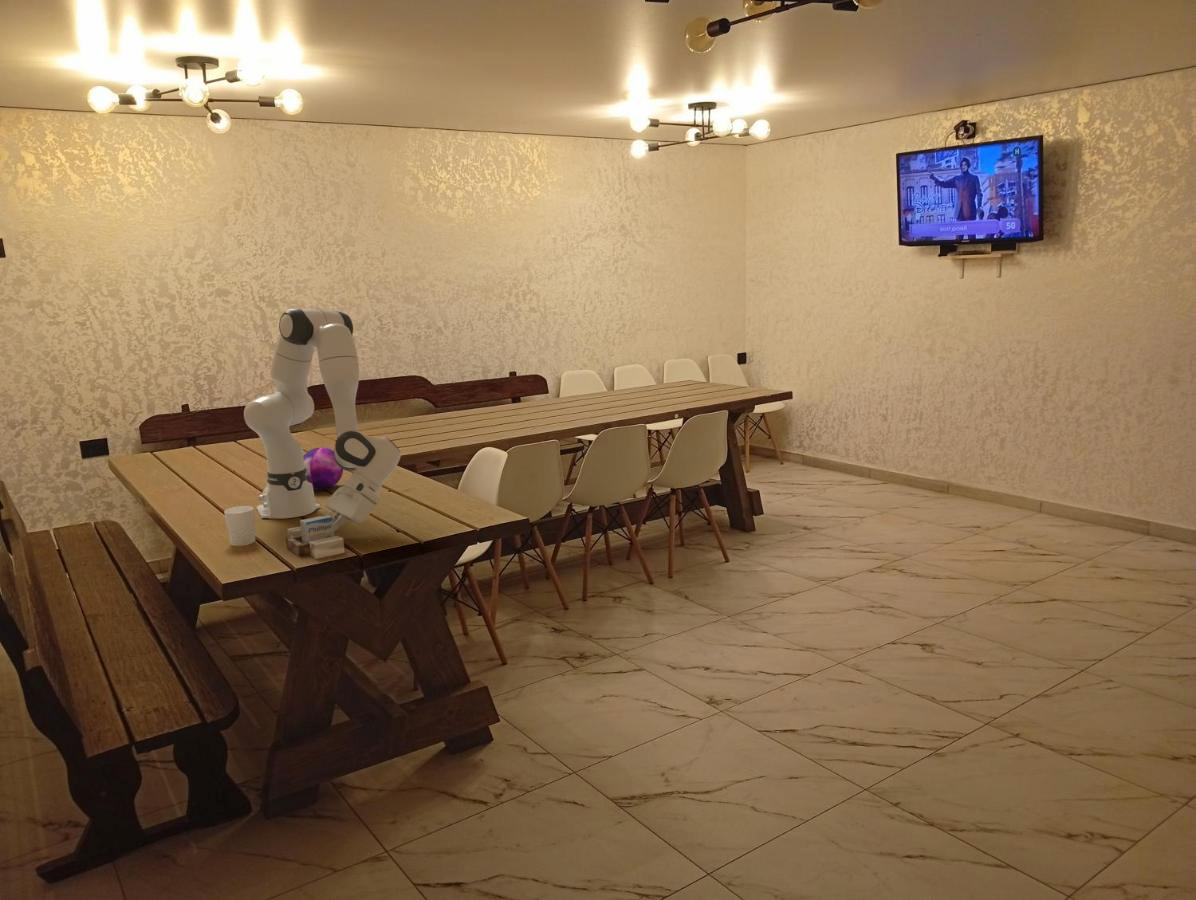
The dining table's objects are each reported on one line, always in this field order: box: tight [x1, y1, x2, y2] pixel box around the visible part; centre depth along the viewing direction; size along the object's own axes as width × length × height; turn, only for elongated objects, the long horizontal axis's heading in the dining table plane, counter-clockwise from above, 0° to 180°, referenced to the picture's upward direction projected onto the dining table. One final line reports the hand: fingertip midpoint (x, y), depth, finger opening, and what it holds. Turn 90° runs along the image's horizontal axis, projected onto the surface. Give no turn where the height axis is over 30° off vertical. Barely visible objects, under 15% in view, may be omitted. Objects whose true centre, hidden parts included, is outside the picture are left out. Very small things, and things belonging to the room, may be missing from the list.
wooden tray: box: [285, 526, 345, 560], centre depth 252 cm, size 21×12×4 cm, turn 38°
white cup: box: [224, 505, 256, 547], centre depth 259 cm, size 8×8×10 cm
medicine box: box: [299, 514, 335, 544], centre depth 252 cm, size 8×4×9 cm, turn 128°
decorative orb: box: [303, 447, 344, 491], centre depth 320 cm, size 15×15×15 cm
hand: (331, 528), depth 255 cm, fingers closed, pressing on medicine box
